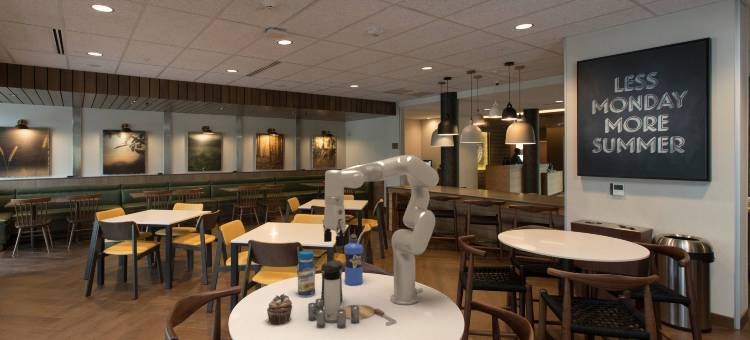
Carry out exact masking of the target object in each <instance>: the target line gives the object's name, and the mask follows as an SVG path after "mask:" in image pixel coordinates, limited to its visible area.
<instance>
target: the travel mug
mask: <svg viewBox="0 0 750 340" xmlns="http://www.w3.org/2000/svg"><path fill="white" fill-rule="evenodd" d="M323 309H324V310H325V323H329V324H331V323H332V324H335V323H336V324H337V311H338V310H340V309H341V303H340V270H331V271H325V272H324V305H323Z"/></svg>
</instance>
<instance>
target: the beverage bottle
mask: <svg viewBox="0 0 750 340" xmlns="http://www.w3.org/2000/svg"><path fill="white" fill-rule="evenodd" d="M298 260H299V262H298V263H297V272H296V274H297V295H298V297H300V298H309V297H313V296H314V295H315V294H316V269H315V267H316V265H315V262H314V261H313V260H314V252H313V250H302V251H299V252H298Z"/></svg>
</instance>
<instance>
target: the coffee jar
mask: <svg viewBox="0 0 750 340" xmlns="http://www.w3.org/2000/svg"><path fill="white" fill-rule="evenodd" d="M331 270H340V304H341V303H342V302H343V285H342V284H343V283H342V281H343V280H342V279H343V278H342V275H343V263H342V260H338V259H337V260H336V259H333V260H330V261H328V262H325V263H323V264H321V268H320V272H321V280H322V281H321V293H320V295H321V297H320V299H323V306H324V272H325V271H331Z"/></svg>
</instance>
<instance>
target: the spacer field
mask: <svg viewBox="0 0 750 340" xmlns="http://www.w3.org/2000/svg"><path fill="white" fill-rule="evenodd" d="M307 305H308V306H307V308H308V309H307V315H308V321H310V322H314V321H316V328H318V329H324V328H325V327H326V321H325V310H324V305H323V299H321V298H317V299H315V302H309V303H308V304H307ZM353 305H354V306H351V319H350V323H351V324H353V325H357V324H359V323H360V319H359V306H357V305H358V304H353ZM346 322H347V319H346V311H345V310H338V311H337V322H336V324H337V325H336V326H337V328H338V329H340V330H342V329H346V327H347V326H346V325H347V323H346Z"/></svg>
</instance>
